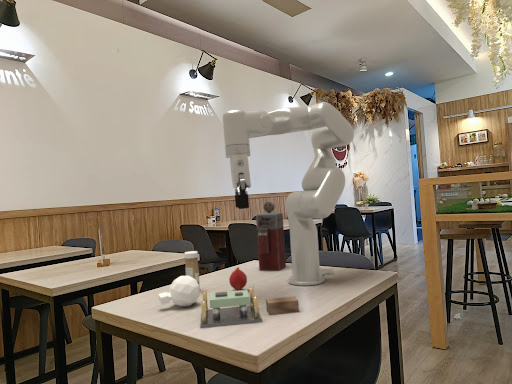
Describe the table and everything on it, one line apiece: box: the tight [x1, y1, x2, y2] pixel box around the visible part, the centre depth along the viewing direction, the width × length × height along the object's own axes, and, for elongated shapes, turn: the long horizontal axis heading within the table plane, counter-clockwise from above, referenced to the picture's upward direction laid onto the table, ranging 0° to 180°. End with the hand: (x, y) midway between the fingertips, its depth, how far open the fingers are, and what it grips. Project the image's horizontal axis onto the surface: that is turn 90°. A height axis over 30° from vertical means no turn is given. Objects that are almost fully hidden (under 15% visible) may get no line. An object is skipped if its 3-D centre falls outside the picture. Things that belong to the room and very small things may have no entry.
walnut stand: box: [265, 296, 300, 315], centre depth 102 cm, size 8×4×3 cm, turn 97°
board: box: [209, 289, 250, 309], centre depth 100 cm, size 10×7×3 cm
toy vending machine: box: [255, 201, 287, 272], centre depth 160 cm, size 9×11×28 cm
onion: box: [229, 266, 248, 291], centre depth 126 cm, size 6×6×8 cm
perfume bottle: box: [158, 275, 201, 308], centre depth 113 cm, size 9×9×12 cm
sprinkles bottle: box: [183, 250, 201, 291], centre depth 129 cm, size 5×5×14 cm
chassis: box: [199, 286, 263, 329], centre depth 100 cm, size 15×12×6 cm
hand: (242, 207), depth 117 cm, fingers open, 9 cm apart
